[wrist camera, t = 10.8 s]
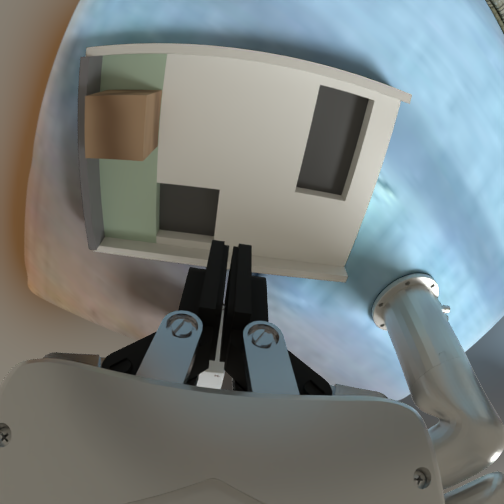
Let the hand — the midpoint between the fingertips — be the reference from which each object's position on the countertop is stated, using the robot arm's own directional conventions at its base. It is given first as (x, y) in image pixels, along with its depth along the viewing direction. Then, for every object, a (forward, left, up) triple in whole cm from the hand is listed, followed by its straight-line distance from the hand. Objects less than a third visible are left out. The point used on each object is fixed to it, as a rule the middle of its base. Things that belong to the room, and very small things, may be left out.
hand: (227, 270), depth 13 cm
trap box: (0, +2, -22) cm, 22 cm away
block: (+11, -2, -20) cm, 23 cm away
